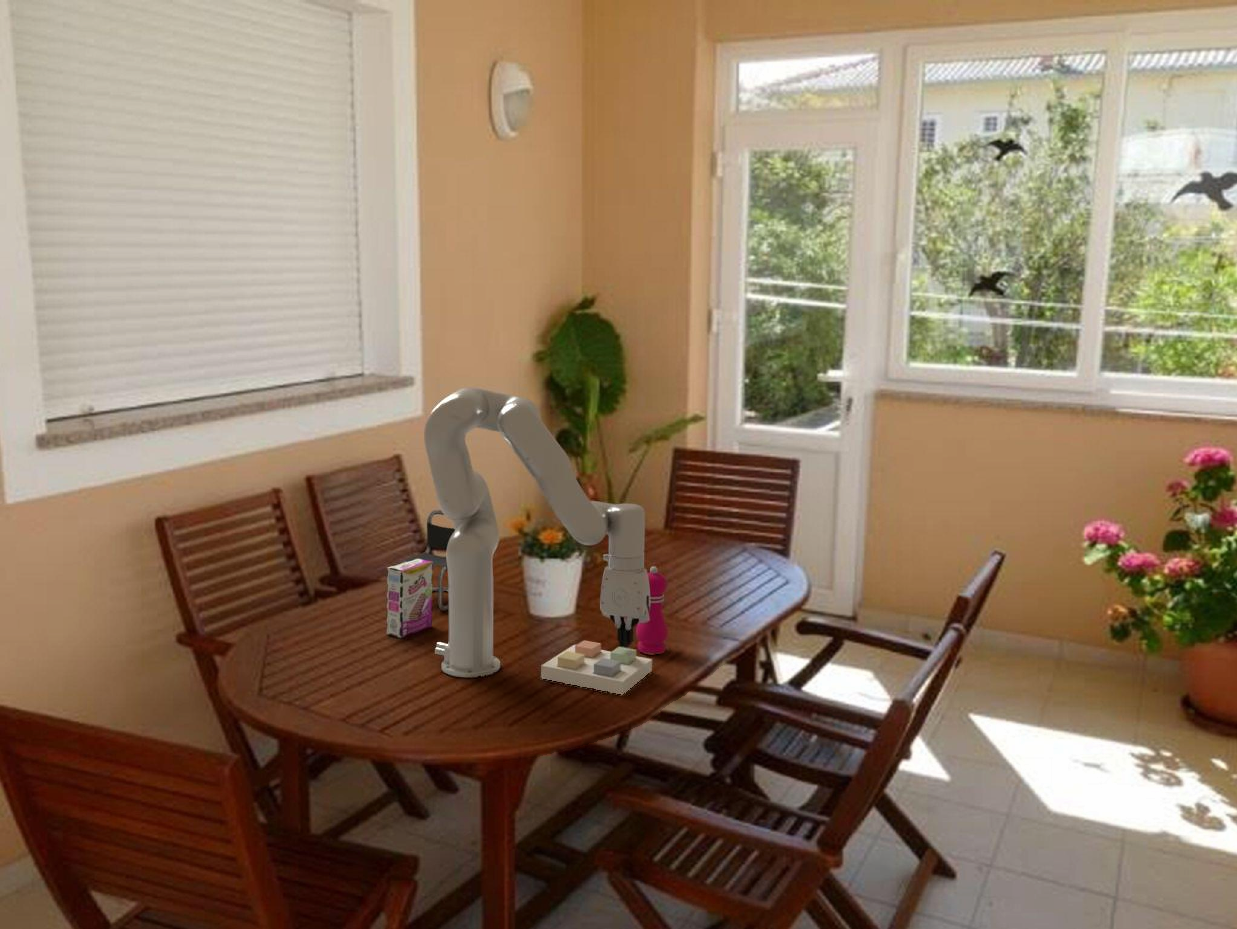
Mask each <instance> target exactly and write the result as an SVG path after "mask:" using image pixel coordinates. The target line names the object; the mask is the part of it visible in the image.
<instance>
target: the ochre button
mask: <svg viewBox="0 0 1237 929" xmlns="http://www.w3.org/2000/svg"><path fill="white" fill-rule="evenodd" d="M584 657H585V654H580V653H574V652H569V651H566V652H565V653H563V654H562V655H560V656H559V657H558V667H562V668H567V669H572V670H577V669H579V668H580V667H581V666H583V665H584Z"/></svg>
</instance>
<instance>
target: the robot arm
mask: <svg viewBox="0 0 1237 929" xmlns="http://www.w3.org/2000/svg"><path fill="white" fill-rule="evenodd" d="M476 428H478V429H482V430H487V431H492V432H497V433H499V434H500V435H501V437H502V438H503V439H504V441H505V442H506V443H507V445H508V446H509V448H510V449H511V450H512V451H513V453H514V454H515V455H516V457H517V458H518V460H519V461H520V462H521V463H522V465H523V466H524V468H525V469H526V470H527V471H528V473H529V474H530V475H531V477H532V479H534V482H535V483H536V485H537V487H538V489H539V490H540V492H541V493H542V495H543V496H544V498H545V499H546V501H547V503H548V504H549V506H550V508H551V509H552V511H553V513H554V514H555V516H556V517H557V518H558V519H559V521H560V522H561V524H562V525H563V527H565V529H566V531H567V532H568V533H569V534H570V535H571V537H573V539H574V540H576V541H577V542H578V543H579V544H581V545H585V546H594V545H597V544H599V543H600V542H601V541H602V540H603V539H604V538H605V536H606V535H607V536H608V553H604V554H603V557H602V559H603V561H606V562H607V566H605V567H604V570H603V574H602V579H601V580H602V581H601V587H600V598H599V607H600V611H601V615H602V616H603V617H605V618H608V619H610V620H611V622H612V623H614V626H615V627H616V629H617V641H618V647H623V648H629V646H630V645H632V643H633V642H634V628H635V627H636V625H638V623H645V622H647V621H649V620H650V617H649V613H648V612H649V611H650V587H649V579H648V574H647V573H648V570H647V569H646V568H645V535H646V534H645V530H646V529H645V527H646V526H645V524H646V513H645V510H644V507H643V506H641V505H639V504H637V503H618V504H616V503H608V502H604V501H603V502H602V501H598V500H597V501H596V500H590V498H589V497H588V495H586V493H585V491H584V490H583V488H582V487H581V485H580V484H579V481H578V480H577V477H576V475H575V473H574V469H573V467H572V466H573V465H572V463H571V460H570V458H569V457H568V456H569V455H568V454H567V453H566V451H565V450H564V449H563V447H561V445H560V444H559V443H558V441H557V440H556V438H555V436H553V434H552V433H551V432H550V430H549V429H548V427H547V426H546V425H545V423H544V422H543V421H542V415H541V412H540V409H539V407H538V406H537V404H536V403H535V402H533V401H532V400H530V399H528V398H525V397H520V396H516V395H511V394H505V393H501V392H495V391H491V390H489V389H488V390H487V389H486V390H485V389H483V388H478V387H465V388H461V389H458V390H457V391H455V392H452V393H451V394H450V395H448V396H447V397H445V398H444V399H443V400H441V402H439V403H438V404H437V405H436V406H435V407H434V408H433V409H432V410H431V412H430V414H428V417H427V419H426V422H425V424H424V430H423V437H424V446H425V452H426V455H427V459H428V462H429V463H428V464H429V468H430V473H431V477H432V481H433V486H434V488H435V489H434V490H435V492H436V494H435V495H436V498H437V499H436V500H437V503H438V506H439V508H440V509H439V510H441V511H442V512H443V514H444V515H443V516H445V517H446V518H448V519H450V520H451V521H452V526H453V528H454V529H455V532H454V533H453V534H452V536H451V537H450V539H449V542H448V545H447V550H446V554H445V555H446V556H445V557H446V559H447V570H446V571H447V583H448V587H447V588H448V592H447V593H448V604H449V609H448V643H447V642H442V641H438V642H436V646H435V649H434V654H435V655H442V656H443V658H444V659H443V660H442V661H441V665H440V666H441V670H442V672H443V673H445V674H448V675H449V676H452V677H457V678H479V677H478V676H481V677H485V675H486V676H489V675H492V674H495V673H496V672H498V671H499V670H500V668H501V661H500V659H499V658H498V657H496V656H494V573H493V558H494V557H493V555H494V553H495V552H496V549H497V548H498V544H499V542H500V531H499V526H498V522H497V518H496V517H497V516H496V514H495V510H494V509H495V508H494V505H493V502H492V497H491V493H490V490H489V486H488V484H487V482H486V480H485V478H484V477H483V476H482V475H481V474H479V472H477V471H475V470H473V466H472V461H471V455H470V453H469V449H468V446H467V444H466V436H467V434H468V433H469V432H471V431H473V430H474V429H476ZM494 672H495V673H494Z"/></svg>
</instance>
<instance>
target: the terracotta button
mask: <svg viewBox="0 0 1237 929" xmlns="http://www.w3.org/2000/svg"><path fill="white" fill-rule="evenodd" d="M575 645H576V646H575V653H580V654H585V657H587V658H592V659H593V658H595V657H596V656H598V655H599V654H600V653H601V650H602V643H601V642H595V641H589V640H582V641H580V642H579V643H577V644H575Z"/></svg>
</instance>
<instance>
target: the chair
mask: <svg viewBox="0 0 1237 929" xmlns="http://www.w3.org/2000/svg"><path fill="white" fill-rule="evenodd" d="M434 515H441V516H445V515H444V514H443V512H442V511H441V509H438V510H437V509H435V510H432V511H431V512H429V514H428V516H427V520H426V550H425V551H424V552H422V553H419V554H417V555H415V556H412V557H409V558H407V559H405V560H403V561H401V563H400V564H402V563H405V562H408V561H412V560H415V559H422V560H427V561H432V562H433V567H441V568H440V570H439V573H438V576H437V578H438V579H437V582H438V583H437V587H436V586H435V587H432V593H434V592H433V591H435V592H438V594H437V595H438V596H437V600H438V601H437V602H438V607H439V609H440V610H441V611H444V612H445V611H447V610H449V603H448V604H446V605H444V602H443V601H444V600H443V594H444V593H443V592H444V591H447V592H446V593H448V587H444V586H443V580H444V578H443V577H444V574H445V571H448V570H447V559H446V556H440V555H435V554H432V553H431V550H432V548H433V549H437V550H442V551H447V545H448V542H449V539H450V537H451V536H452V534H453V533H454V532H455V529H454V527H453V528H451V527H444V526H441V525H436V524H432V522H433V521H432V519H433V517H434Z"/></svg>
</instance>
